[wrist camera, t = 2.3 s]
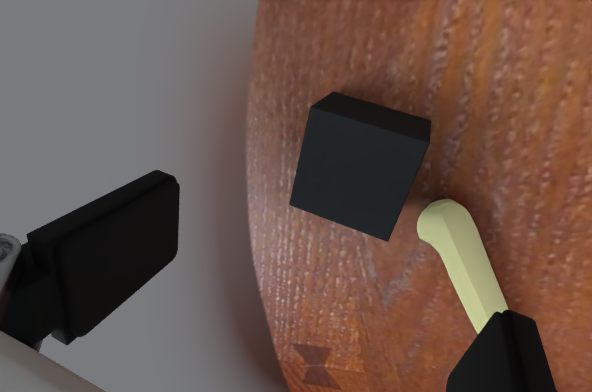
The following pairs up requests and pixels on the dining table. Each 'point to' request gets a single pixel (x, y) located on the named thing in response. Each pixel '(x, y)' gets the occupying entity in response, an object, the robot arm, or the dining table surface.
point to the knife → (463, 258)
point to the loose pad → (358, 163)
